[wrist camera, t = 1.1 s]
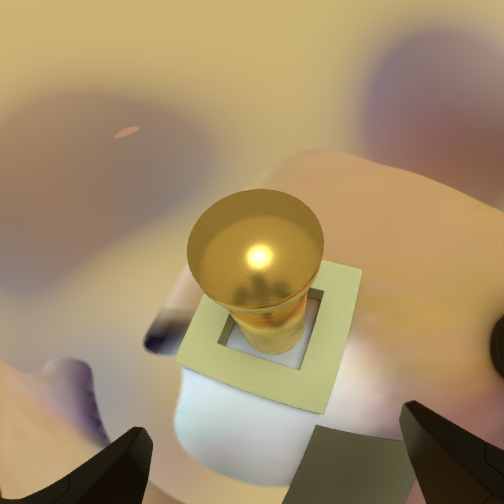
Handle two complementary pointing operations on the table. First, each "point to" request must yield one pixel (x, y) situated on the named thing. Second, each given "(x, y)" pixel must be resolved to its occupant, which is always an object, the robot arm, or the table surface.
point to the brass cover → (259, 263)
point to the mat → (351, 470)
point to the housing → (268, 373)
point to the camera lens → (498, 346)
